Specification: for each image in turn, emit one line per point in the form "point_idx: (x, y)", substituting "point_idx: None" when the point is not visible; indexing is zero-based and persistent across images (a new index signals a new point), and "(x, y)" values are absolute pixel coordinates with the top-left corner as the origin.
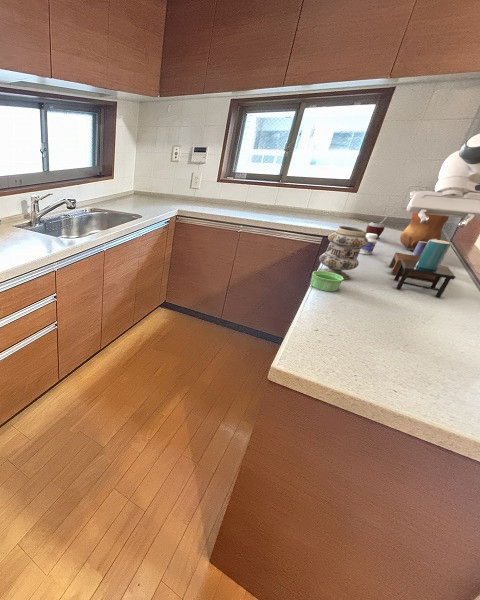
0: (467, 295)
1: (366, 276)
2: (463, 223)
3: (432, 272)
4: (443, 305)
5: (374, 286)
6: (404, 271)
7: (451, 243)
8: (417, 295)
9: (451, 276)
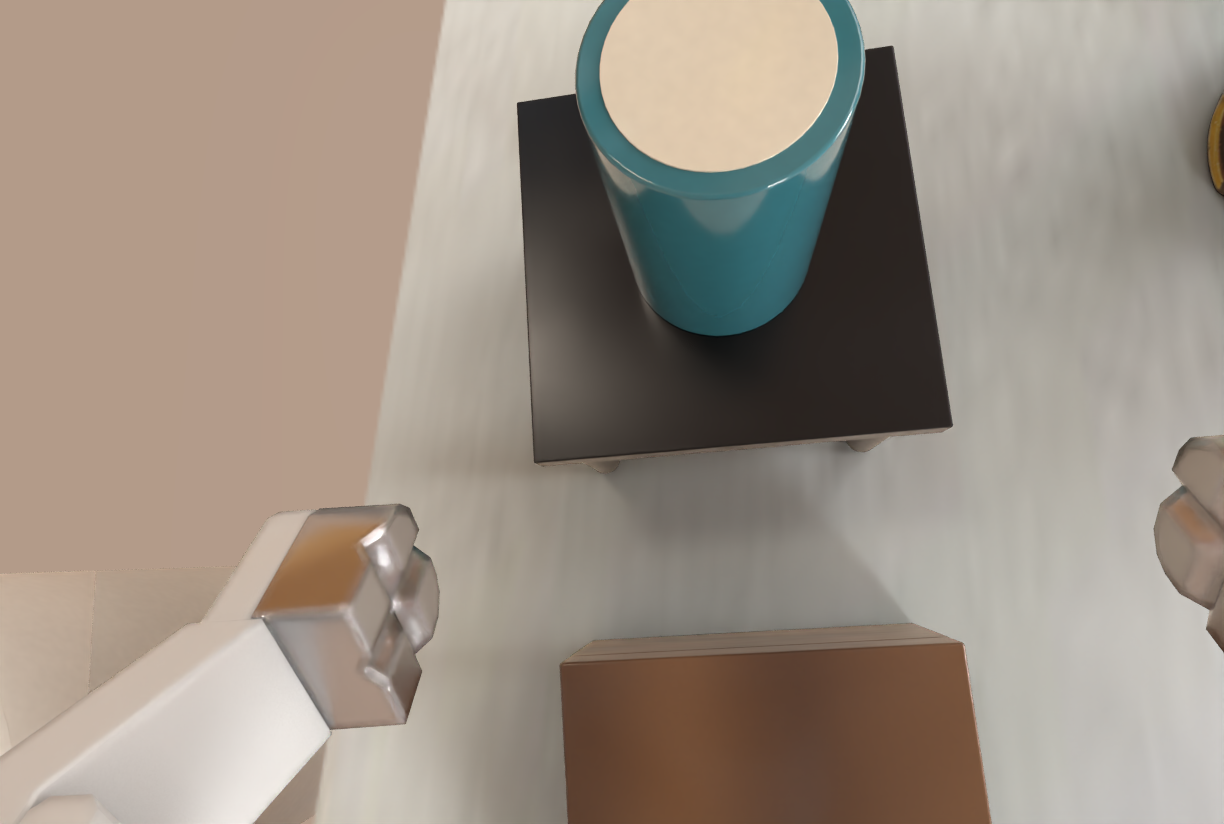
0: (405, 449)
1: (1089, 357)
2: (333, 524)
3: None
4: (570, 74)
5: (986, 115)
6: (830, 635)
7: (579, 59)
8: None
9: (541, 102)
